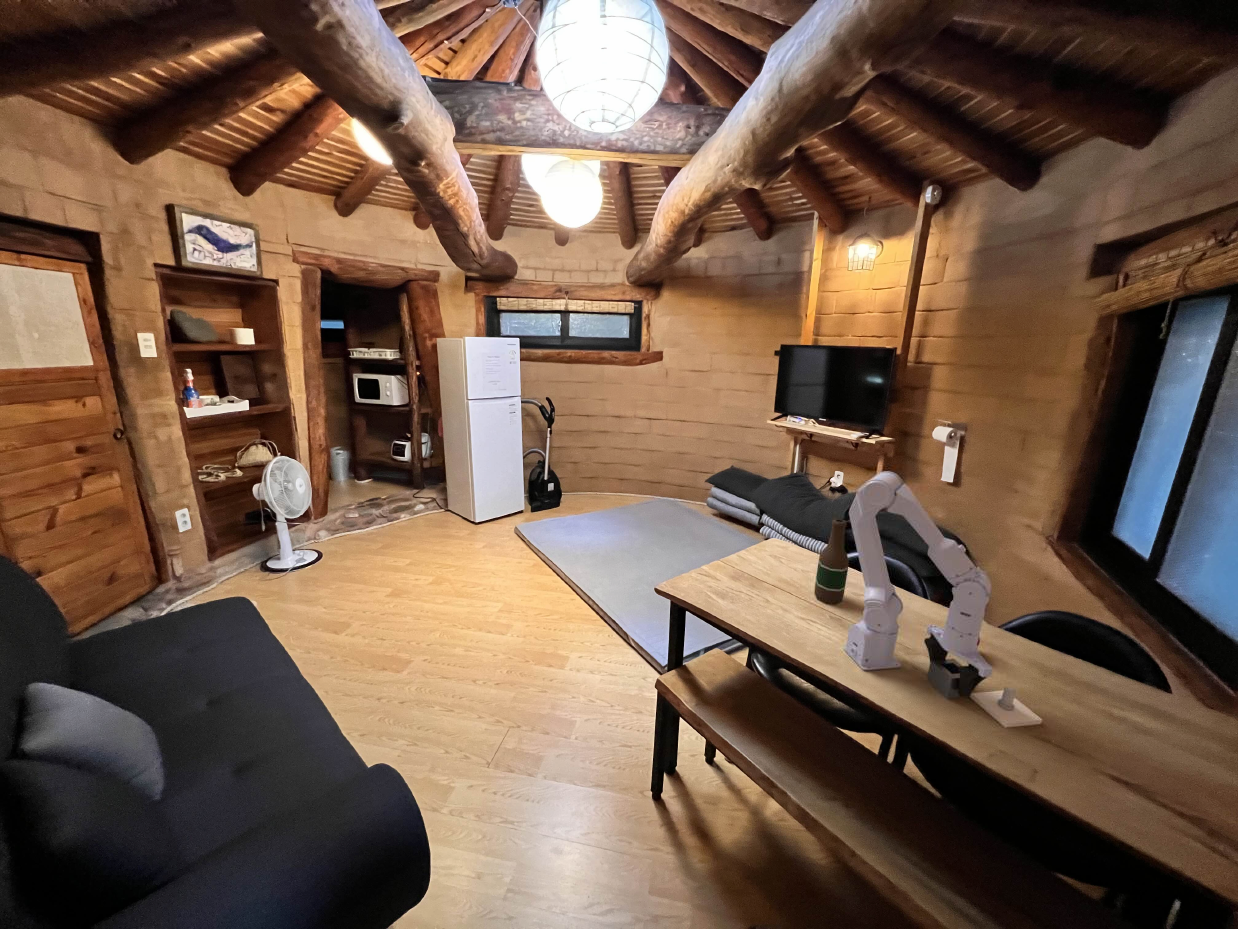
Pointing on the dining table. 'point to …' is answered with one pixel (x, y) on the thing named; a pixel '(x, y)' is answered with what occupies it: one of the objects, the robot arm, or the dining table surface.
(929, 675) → the collar
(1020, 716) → the post block
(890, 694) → the dining table surface
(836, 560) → the beer bottle
